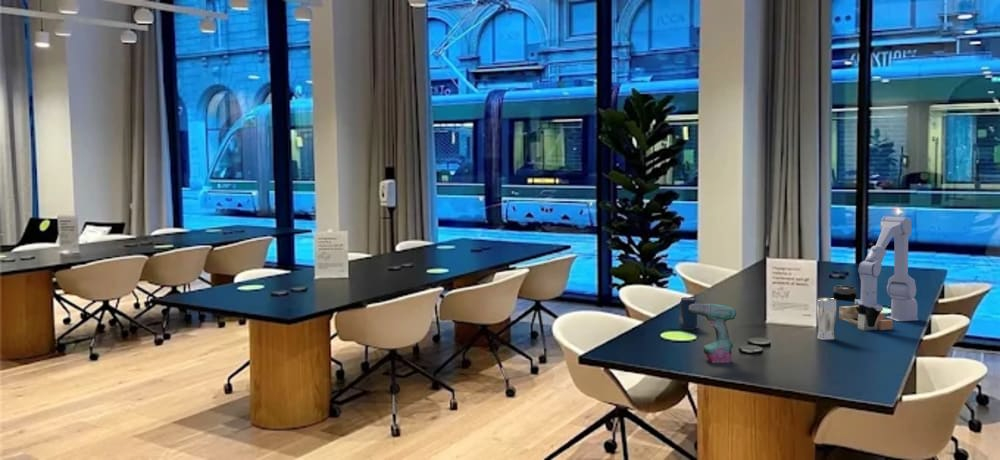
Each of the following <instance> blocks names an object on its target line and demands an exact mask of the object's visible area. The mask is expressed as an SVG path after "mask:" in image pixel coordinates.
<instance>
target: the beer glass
mask: <svg viewBox="0 0 1000 460" xmlns="http://www.w3.org/2000/svg"><path fill="white" fill-rule="evenodd" d="M837 308H838V306H837V299H833V298H831V297H819V298H817V302H816V317H817V318H816V319H817V323H818V324H817V327H818V332H817V336H816V337H817V339H818V340H821V341H833V340H835V333H834V332H835V331H834V328H835V323H836V319H837V312H838V311H837Z"/></svg>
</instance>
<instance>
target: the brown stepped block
mask: <svg viewBox="0 0 1000 460" xmlns="http://www.w3.org/2000/svg"><path fill="white" fill-rule="evenodd" d="M893 324H894V320H892V319H886V313H885V312H881V313H880V314H879V316H878V330H880V331H886V330H893V329H894V327H893V326H894V325H893Z"/></svg>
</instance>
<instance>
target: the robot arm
mask: <svg viewBox="0 0 1000 460" xmlns="http://www.w3.org/2000/svg"><path fill="white" fill-rule="evenodd" d="M879 226H880V230H881V231H880V234H879V236H878V239H877V241H876V244H875V245H873V246H871V247H870V249H869V252H868V253H867V256H866V257H865V259H864V260H863V261H861V262H860V263H859V265H858V268H857V269H858V274H859V279H860V298H856V299H855V300H854V305H855V306H856V310H857V311H858V313H867V316H868V326H869V327H874V326H875V323H876V320H877V317H878V316H879V314H880V313H882V311H883V309H884V308H883V307H884V306H883V305H881V304H879V303H878V302H877V301H878V300H877V299H878V298H877V297H878V277H879V275H880V274H881V271H882V263H883V261H884V258H885V256H886V254H887V251H886V248H887V246H888V245H889V244H890V241H892V239H893V238H894V241H893V242H894V243H893V244H894V250H893V251H894V258H893V259H894V260H893V261H894V262H893V263H894V267H893V273H894V274H893V275H892V276H891V277H889V278H888V281H887V286H886V292H887V294H888V296H889V298H891V306H890V316H888V315H887V316H885V319H886V318H887V319H888V320H893V321H897V322H911V321H919V318H918V307H919V306H918V301H917V300H916V298H915V296H916V294H917V287H916V280H915V279H914V278H912V277H911V276H910V275H909V237H910V236H912V221H911V219H910V218H909V217H907V216H905V217H904V216H903V217H902V216H889V215H884V216H883V217H882V218H881V221H880V225H879ZM858 305H859V306H858Z"/></svg>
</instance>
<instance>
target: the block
mask: <svg viewBox="0 0 1000 460" xmlns="http://www.w3.org/2000/svg"><path fill="white" fill-rule="evenodd" d="M857 321H858V325H857V329H858V330H862V331H876V330H879V328H878V317H877V320H876V323H875V326H874V327H869V326H868V316H867V313H858V319H857Z"/></svg>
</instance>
